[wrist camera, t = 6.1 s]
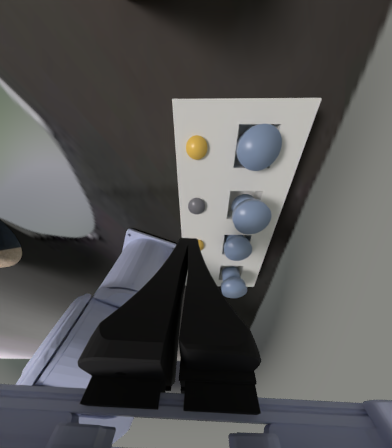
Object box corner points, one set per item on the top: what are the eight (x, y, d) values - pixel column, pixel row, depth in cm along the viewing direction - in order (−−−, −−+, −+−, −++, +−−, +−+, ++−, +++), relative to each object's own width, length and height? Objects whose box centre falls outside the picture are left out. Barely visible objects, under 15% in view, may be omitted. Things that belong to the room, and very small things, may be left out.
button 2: (243, 245, 22) (249, 260, 20) (220, 245, 22) (223, 260, 20) (247, 226, 20) (255, 240, 18) (222, 226, 20) (226, 240, 18)
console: (249, 274, 27) (254, 288, 24) (186, 273, 27) (185, 287, 25) (302, 103, 13) (324, 97, 11) (176, 104, 14) (171, 98, 11)
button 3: (255, 218, 18) (265, 234, 15) (226, 218, 18) (231, 234, 15) (262, 190, 16) (276, 202, 13) (230, 190, 16) (236, 202, 13)
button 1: (239, 279, 24) (244, 298, 21) (218, 279, 24) (220, 298, 21) (243, 264, 22) (249, 283, 19) (220, 264, 22) (223, 283, 19)
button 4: (261, 164, 16) (274, 171, 13) (229, 164, 16) (235, 170, 13) (270, 125, 14) (288, 123, 11) (233, 125, 14) (242, 123, 11)
